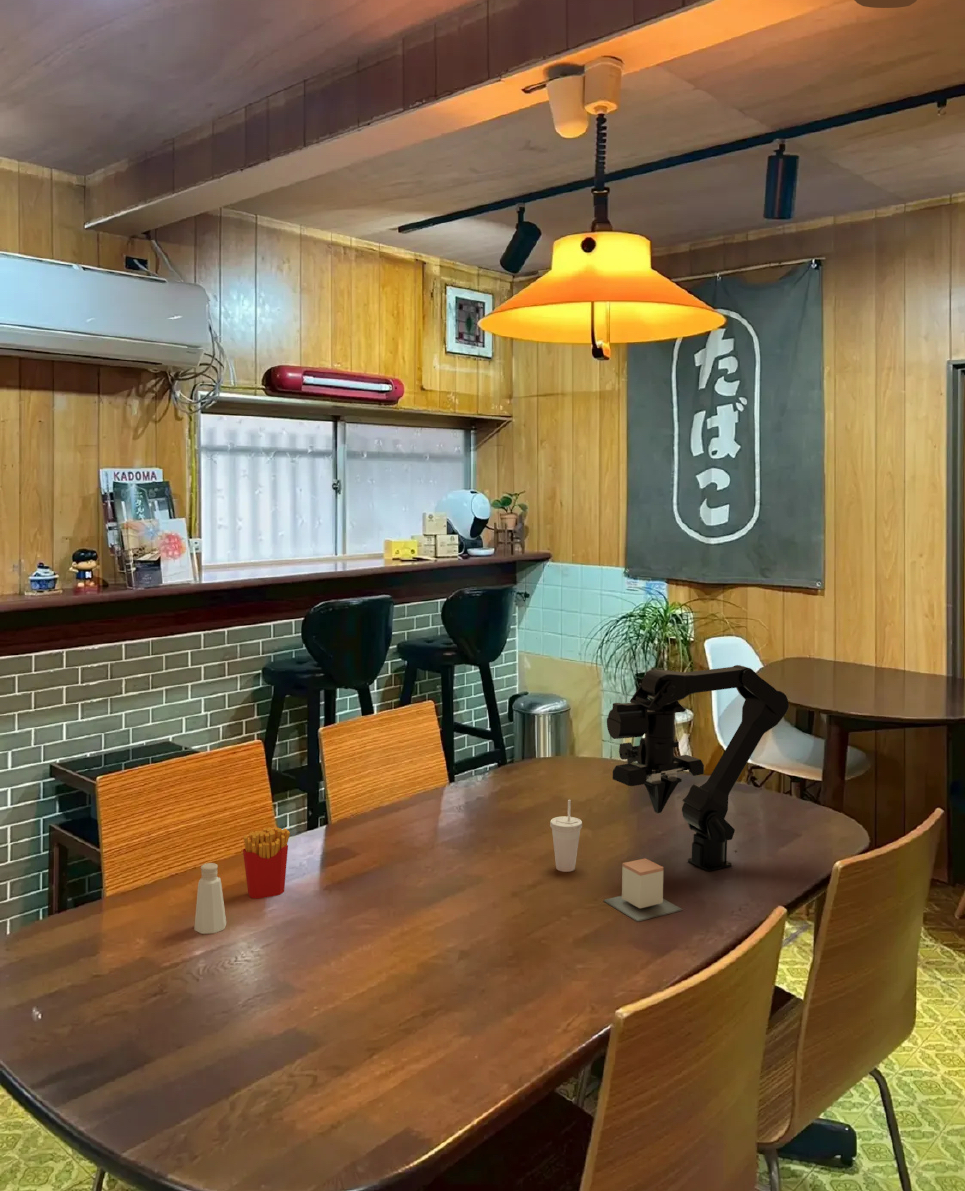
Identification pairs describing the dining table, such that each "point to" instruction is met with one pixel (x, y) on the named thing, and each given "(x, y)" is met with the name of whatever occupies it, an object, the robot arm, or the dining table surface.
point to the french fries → (266, 862)
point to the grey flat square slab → (645, 912)
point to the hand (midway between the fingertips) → (657, 812)
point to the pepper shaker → (209, 902)
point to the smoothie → (566, 840)
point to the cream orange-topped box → (642, 883)
